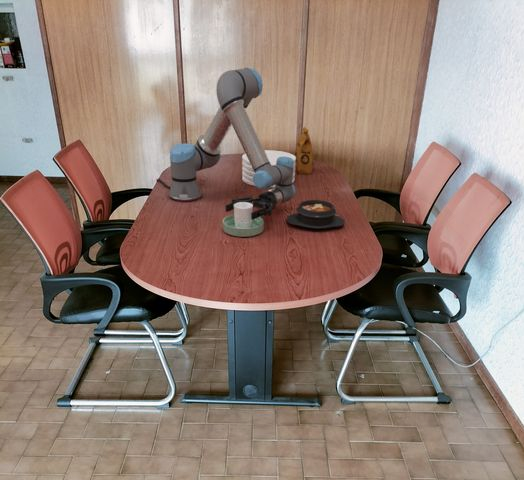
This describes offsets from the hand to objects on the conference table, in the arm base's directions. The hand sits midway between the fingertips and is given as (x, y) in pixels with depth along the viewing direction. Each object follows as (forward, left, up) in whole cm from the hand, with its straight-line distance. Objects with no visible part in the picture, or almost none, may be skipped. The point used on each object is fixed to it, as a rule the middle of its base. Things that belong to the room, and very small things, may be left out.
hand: (238, 212), depth 212 cm
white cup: (0, +3, -8) cm, 8 cm away
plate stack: (-34, +67, -9) cm, 75 cm away
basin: (0, +3, -8) cm, 9 cm away
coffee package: (-28, +92, -9) cm, 96 cm away
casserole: (+20, +28, -9) cm, 35 cm away
